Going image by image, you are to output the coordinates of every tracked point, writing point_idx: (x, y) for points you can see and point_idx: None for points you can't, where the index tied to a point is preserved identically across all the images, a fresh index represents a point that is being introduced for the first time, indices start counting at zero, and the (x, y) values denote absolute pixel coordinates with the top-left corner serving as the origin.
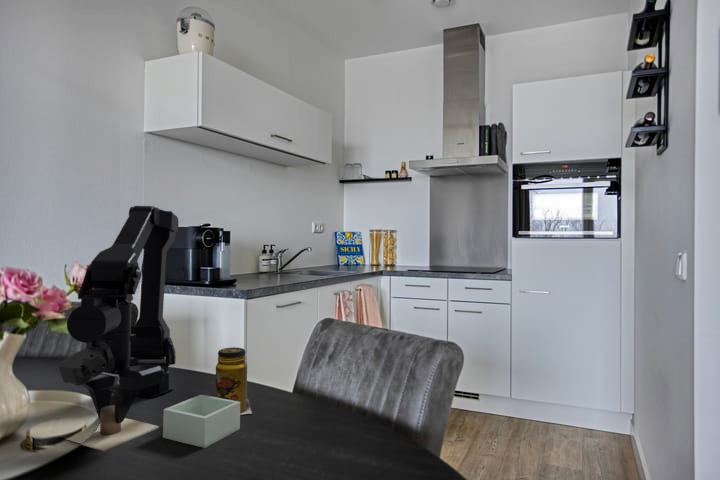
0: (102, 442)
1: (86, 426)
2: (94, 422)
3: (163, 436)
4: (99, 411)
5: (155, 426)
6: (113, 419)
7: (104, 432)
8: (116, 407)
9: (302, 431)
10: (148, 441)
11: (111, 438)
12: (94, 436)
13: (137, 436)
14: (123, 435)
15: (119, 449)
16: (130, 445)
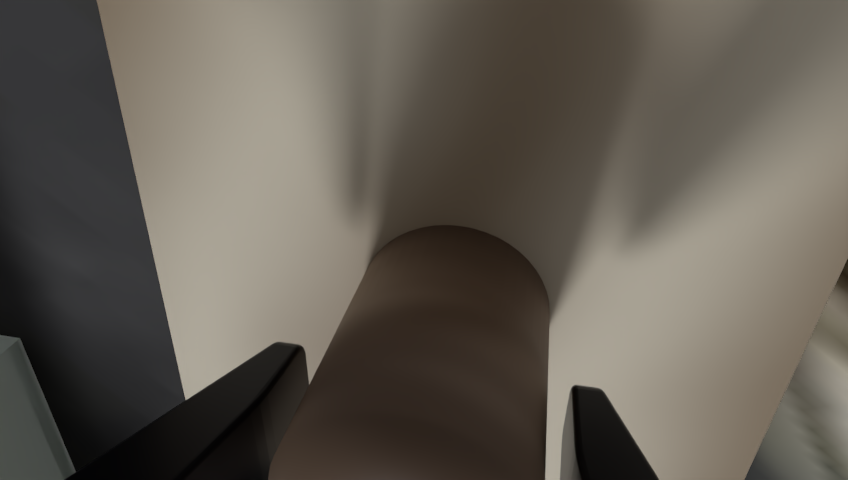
0: (280, 79)
1: (840, 350)
2: (828, 439)
3: (7, 343)
4: (579, 456)
5: None
6: (319, 367)
7: (425, 240)
8: (121, 477)
9: None
10: (22, 256)
11: (294, 187)
12: (499, 166)
13: (167, 298)
14: (265, 273)
15: (24, 37)
16: (43, 145)
